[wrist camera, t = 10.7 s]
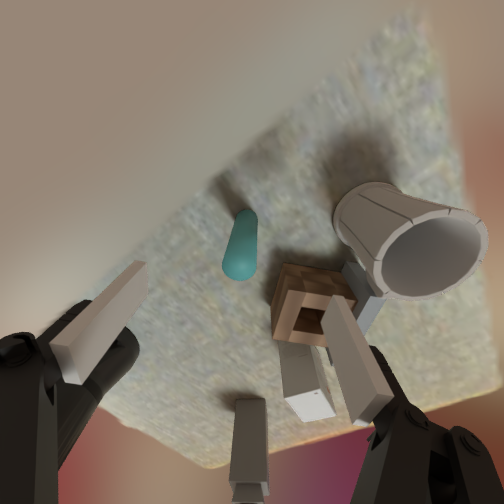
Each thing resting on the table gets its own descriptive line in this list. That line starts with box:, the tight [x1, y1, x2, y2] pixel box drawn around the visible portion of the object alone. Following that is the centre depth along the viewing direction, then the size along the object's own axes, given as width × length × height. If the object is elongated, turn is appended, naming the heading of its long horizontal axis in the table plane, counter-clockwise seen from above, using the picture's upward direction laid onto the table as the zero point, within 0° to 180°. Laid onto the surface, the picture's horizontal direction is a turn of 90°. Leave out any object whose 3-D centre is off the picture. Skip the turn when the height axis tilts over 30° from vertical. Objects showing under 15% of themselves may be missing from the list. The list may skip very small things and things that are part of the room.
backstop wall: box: [325, 261, 387, 366], centre depth 31 cm, size 2×13×8 cm, turn 169°
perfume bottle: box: [229, 399, 269, 504], centre depth 43 cm, size 7×7×18 cm
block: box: [270, 263, 358, 348], centre depth 32 cm, size 9×9×6 cm
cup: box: [333, 182, 488, 301], centre depth 23 cm, size 10×9×12 cm
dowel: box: [222, 210, 258, 281], centre depth 24 cm, size 3×3×12 cm
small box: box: [278, 340, 337, 422], centre depth 36 cm, size 8×6×10 cm
